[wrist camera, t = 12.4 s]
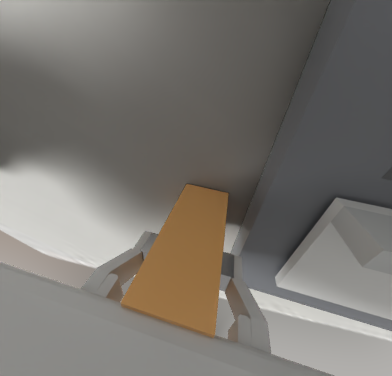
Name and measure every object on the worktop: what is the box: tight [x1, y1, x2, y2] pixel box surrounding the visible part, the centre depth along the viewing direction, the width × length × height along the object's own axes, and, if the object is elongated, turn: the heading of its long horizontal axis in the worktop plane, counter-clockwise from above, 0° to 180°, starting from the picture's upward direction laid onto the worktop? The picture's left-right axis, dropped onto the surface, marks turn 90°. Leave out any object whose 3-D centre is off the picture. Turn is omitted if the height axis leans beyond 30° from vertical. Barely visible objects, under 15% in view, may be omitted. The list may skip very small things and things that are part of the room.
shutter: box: [275, 197, 392, 320], centre depth 9 cm, size 9×9×4 cm
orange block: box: [121, 184, 229, 338], centre depth 11 cm, size 4×4×10 cm
